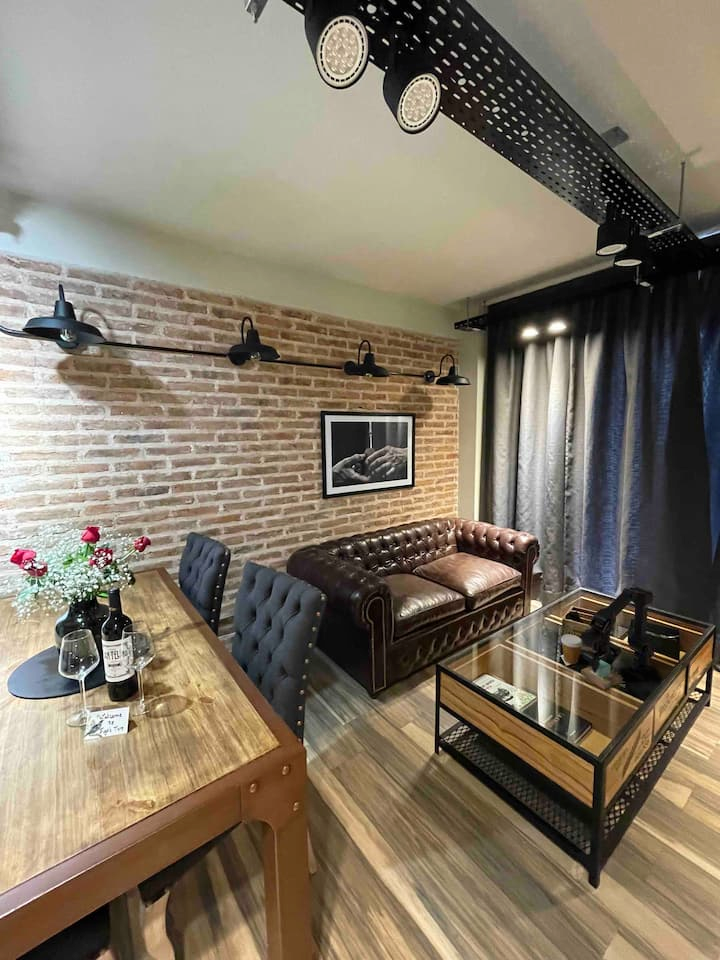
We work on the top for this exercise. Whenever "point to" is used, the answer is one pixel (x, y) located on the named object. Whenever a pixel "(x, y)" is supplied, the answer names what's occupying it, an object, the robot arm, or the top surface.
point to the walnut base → (600, 681)
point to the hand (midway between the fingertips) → (601, 669)
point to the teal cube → (603, 669)
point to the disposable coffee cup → (571, 648)
